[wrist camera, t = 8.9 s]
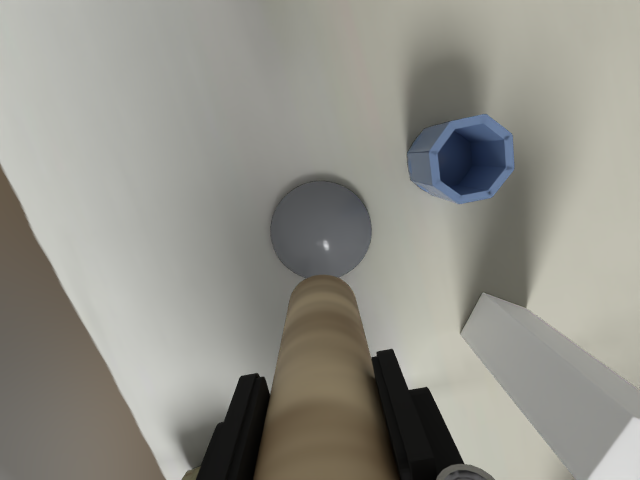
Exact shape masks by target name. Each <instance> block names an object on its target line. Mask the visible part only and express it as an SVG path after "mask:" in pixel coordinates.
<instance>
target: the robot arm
mask: <svg viewBox="0 0 640 480" xmlns="http://www.w3.org/2000/svg"><path fill="white" fill-rule="evenodd" d="M371 360H372V365H373V370H374V376H375V380H376V384H377V388H378V392H379V396H380V400H381V404H382V408H383V412H384V416H385V420H386V424H387V428H388V432H389V436H390V440H391V444H392V448H393V452H394V456H395V460H396V464H397V468H398V472H399V476H400V480H495V479H494V478H493V477H492V476H491V475H490V474H488V473H487V472H485V471H484V470H482V469H480V468H477V467H475V466H472V465H467V464H464V462H463V460H462V458H461V456H460V454H459V451H458V449H457V447H456V445H455V443H454V441H453V439H452V437H451V435H450V432H449V430H448V428H447V426H446V424H445V422H444V420H443V418H442V415H441V413H440V411H439V409H438V407H437V405H436V403H435V401H434V399H433V396H432V394H431V392H430V390H429V389H428V388H427V387H424V388H418V389H412V390H408V387H407V385H406V382H405V379H404V377H403V374H402V372H401V369H400V366H399V364H398V361H397V358H396V356H395V353H394V351H393V349H389V350H383V351H378V352H377V356H376V357H371ZM269 399H270V393H269V390H268V386H267V383H266V380H265V378H264V377H260V376H259V374H258V373H255V374H250V375H244V376H241V377H240V378H239V381H238V384H237V387H236V389H235V392H234V395H233V398H232V401H231V403H230V406H229V409H228V412H227V415H226V417H225V420H224V422H221V423H219V424H218V425H217V426H216V428H215V430H214V433H213V435H212V438H211V441H210V443H209V446H208V448H207V451H206V454H205V456H204V459H203V462H202V464H201V467H200V469H199V472H198V475H197V477H196V480H253V477H254V472H255V467H256V462H257V457H258V452H259V447H260V442H261V438H262V433H263V428H264V423H265V418H266V413H267V408H268V403H269Z"/></svg>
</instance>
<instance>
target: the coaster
mask: <svg viewBox="0 0 640 480" xmlns="http://www.w3.org/2000/svg"><path fill="white" fill-rule="evenodd" d="M371 231H372V229H371V221H370V217H369V214H368V212H367V209H366V208H365V206H364V204H363V203H362V201H361V200H360V199H359V198H358V197H357V196H356V195H355V194H354V193H353V192H352V191H350V190H349V189H347V188H346V187H344V186H342V185H339V184H337V183H333V182H327V181H315V182H309V183H306V184H303V185H301V186H298V187H297V188H295V189H293V190H292V191H291V192H289V193H288V194H287V195H286V196H285V197H284V198H283V199H282V200H281V202H280V203H279V204H278V206H277V208H276V210H275V212H274V215H273V218H272V222H271V240H272V244H273V247H274V250H275V252H276V254H277V256H278V257H279V259H280V260H281V261H282V263H283V264H284V265H285V266H286V267H287V268H289V269H290V270H291V271H293V272H294V273H296V274H298V275H300V276H302V277H305V278H309V277H311V276H315V275H331V276H335V277H340V276H342V275H344V274H346V273H348V272H349V271H351V270H352V269H354V268H355V267H356V266H357V265H358V264H359V263H360V261H361V260H362V259H363V257H364V256H365V254H366V252H367V250H368V248H369V244H370V241H371Z"/></svg>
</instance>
